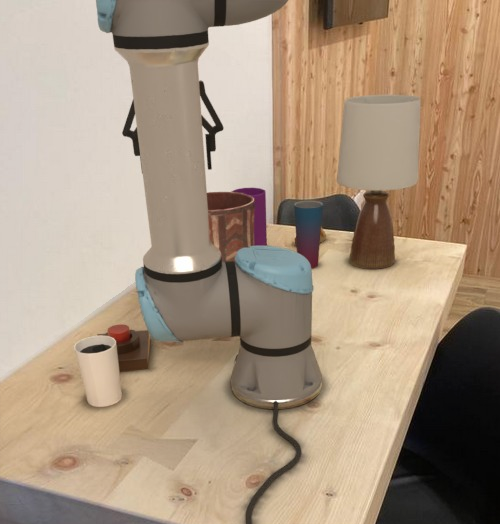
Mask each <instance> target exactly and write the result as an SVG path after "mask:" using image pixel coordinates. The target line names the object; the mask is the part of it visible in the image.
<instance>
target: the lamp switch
mask: <svg viewBox="0 0 500 524" xmlns="http://www.w3.org/2000/svg"><path fill="white" fill-rule="evenodd" d="M130 330H131V329H130V326H129V325H127V324H124V323H123V324H122V323H120V324H114V325H111V326H109V327H108V328H107V332H108V336H109V337H112V338H114V339H115V341H116V343H118V342H124V341H127V340H129V339H131V335H130Z"/></svg>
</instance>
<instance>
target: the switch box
mask: <svg viewBox="0 0 500 524" xmlns="http://www.w3.org/2000/svg"><path fill="white" fill-rule="evenodd" d="M100 335H102V336H108V331H107V332H105V333H97V335H96V336H100ZM130 335H131V339H129V340H127V341H124V342H118V343H116V346H117V355H118V363H119V372H124V371H125V372H127V371H137V370H140V371H141V370H149V363H150V352H151V351H150V350H151V335H150V334H149V332H148V330H147V329H146V330H134V329H130Z"/></svg>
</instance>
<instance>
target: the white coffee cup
mask: <svg viewBox="0 0 500 524" xmlns="http://www.w3.org/2000/svg"><path fill="white" fill-rule="evenodd" d="M73 350H74V354H75V358H76V361H77V366H78V369H79V373H80V377H81V381H82V385H83V390H84V393H85V397H86V402H87V403H88V405H90V406H92V407H97V408H105V407H110V406H113V405H115V404H117V403H119V402H120V401H121V400H122V398H123V391H122V382H121V373H120V372H121V371H119V363H118V355H117V346H116V341H115V339H114V338H112V337H109V336H102V335H100V336H97V335H92V336H87V337H84V338H82V339H80V340H78V341H77V342H76V343H75V344H74V346H73Z"/></svg>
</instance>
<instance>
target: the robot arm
mask: <svg viewBox="0 0 500 524" xmlns="http://www.w3.org/2000/svg"><path fill="white" fill-rule="evenodd" d="M288 2H289V0H95V5H96V16H97V25H98V28H99V30H100V31H101V32H102V33H105V34H112V42H113V48H114V51H115V52H117V53H118V55H119V56H121V57H122V58H123V59H124V60H125V61H126V63H127V64H128V67H129V74H130V84H131V90H132V92H131V93H132V101H131V104H130V108H129V109H128V114H127V117H126V120H125V122H124V126H123V129H122V132H121V135H122V136H123V137H125V138H126V137H127V138H130V139H131V141H132V148H133V149H132V150H133V154H134V156H135V157H139V159H140V167H141V174H142V179H143V180H142V181H143V188H144V195H145V204H146V205H145V206H146V212H147V220H148V228H149V237H150V244H151V247H150V248H149V249H148V250H147V251H146V252H145V253H144V255H143V257H142V263H143V266H140V267H139V268H137V269H136V270H135V274H134V275H135V276H134V277H135V281H134V282H135V286H136V287H135V288H136V292H137V296H138V303H139V308H140V313H141V316H142V319H143V321H144V325H145V327H146V330H148V332H149V334H150V338H152V339H153V340H154V341H156V342H158V343H174V342H176V343H181V344H182V343H184V342H190V341H191V342H192V341H202V340H210V339H211V340H212V339H223V338H235V337H239V348H238V352H237V354H236V355H235V359H234V362H233V363H234V364H233V365H234V366H233V369H232V373H231V377H230V383H231V391H232V393H233V395H234V396H235V397H236V399H238V400H239V401H240V402H242V403H244V404H246V405H248V406H251V407H255V408H259V409H266V410H273V412H272V413H273V415H272V425H273V428H274V429H275V431H276V432H277V433H278V434H279V436H281V437H282V438H284V439H285V440H287V441H288V442H289V443H291V444H292V445H293V446H294V448H295V451H296V453H295V456H294V457H293V459H291V460H290V461H289V462H287V464H285V465H283V466H282V467H281V468H279V469H278V470H276V471H274V472H273V473H272V474H270V476H269V477H268V478H267V479H265V481H264V482H263V483H262V485H261V486H260V487H259V488H258V490H257V491H256V492H255V493H254V495H253V496H252V497H251V499H250V501H249V503H248V505H247V508H246V511H245V524H253V522H252V515H253V514H252V512H253V509H254V507H255V505H256V504H257V501H258V500H259V499H260V497H261V496H262V495H263V493H264V492H265V491H266V490H267V489H268V488H269V486H270V485H271V484H272V482H274V481H275V480H276V479H277V478H278V477H279V476H281V475H282V474H284V473H285V472H287V471H289V470H290V469H292V468H293V467H294V466H295V465H296V464H297V463H298V462H299V460H300V458H301V456H302V448H301V447H302V446H301V445H300V443H299V442H298V441H297V440H296V439H295V438H294V437H292V436H290V435H289V434H288V433H286V432H285V431H284V430H282V428H281V427H280V426H279V424H278V418H279V410H283V409H292V408H295V407H299V406H303V405H305V404H307V403H309V402H311V401H313V400H314V399H315V398H316V397H317V396H319V394H320V393H321V390H322V385H323V377H322V376H323V375H322V372H321V369H320V368H321V367H320V366H319V362H318V359H317V357H316V354H315V351H314V348H313V345H312V330H313V327H312V325H313V324H312V323H313V322H312V321H313V292H314V285H313V283H314V282H313V272H312V271H313V270H312V269H313V268H311V265H310V263H309V261H308V260H307V259H306V258H305V257H304V256H302V255H301V254H299V253H297V251H294V250H291V249H289V248H284V247H281V246H276V245H275V246H274V245H267V246H249V247H248V248H242V249H240V250H238V251H237V253H236V256H235V261H227V262H222V258H221V252H220V250H219V249H218V248H217V247H216V246H214V245H213V244H212V243H211V242H210V233H209V219H208V204H207V193H208V192H207V191H208V190H207V177H206V175H207V174H206V166H207V170H208V171H209V170H212V169H213V168H212V167H213V166H212V152H213V153H214V152H216V149H217V144H216V143H217V142H216V134H218V133H219V132H222V131H224V125H223V123H222V121H221V119H220V117H219V116H218V113H217V112H216V110H215V108H214V106H213V104H212V102H211V101H210V99H209V96H208V94H207V93H206V87H205V83H204V81H203V80H200V76H199V74H200V73H199V59H200V57H201V56H202V55H203V53H204V52H205V51H206V49H207V48H208V47H209V45H210V41H209V28H215V27H229V26H231V27H232V26H239V25H244V24H249V23H251V22H256V21H258V20H261V19H265V18H267V17H268V16H271V15H273V14H274V13H276V12H278V11H280V10H282V8H283V7H284V6H285V5H286V4H287V3H288ZM201 101H202V103H203V104H204V107H205V109H206V110H207V112H208V114H209V116H210V117H211V119H212V121H213V123H214V125H213V126H212V125H211V123H210V122H209V121H208V120H207V119H206V118H205V116H203V114H202V104H201ZM134 119H135V124H136V127H135V129H134V130H131V128H132V125H133V123H134ZM203 129H205V131H206V132H207V133H204V135H203ZM204 136H205V150H206V163H205V150H204ZM206 164H207V165H206Z"/></svg>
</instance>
